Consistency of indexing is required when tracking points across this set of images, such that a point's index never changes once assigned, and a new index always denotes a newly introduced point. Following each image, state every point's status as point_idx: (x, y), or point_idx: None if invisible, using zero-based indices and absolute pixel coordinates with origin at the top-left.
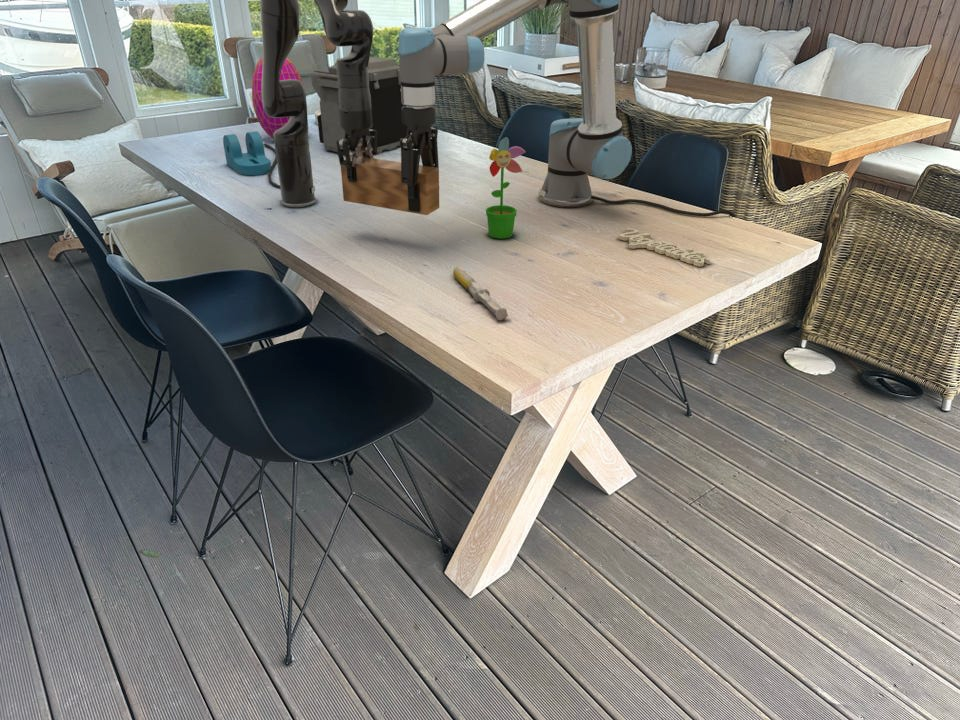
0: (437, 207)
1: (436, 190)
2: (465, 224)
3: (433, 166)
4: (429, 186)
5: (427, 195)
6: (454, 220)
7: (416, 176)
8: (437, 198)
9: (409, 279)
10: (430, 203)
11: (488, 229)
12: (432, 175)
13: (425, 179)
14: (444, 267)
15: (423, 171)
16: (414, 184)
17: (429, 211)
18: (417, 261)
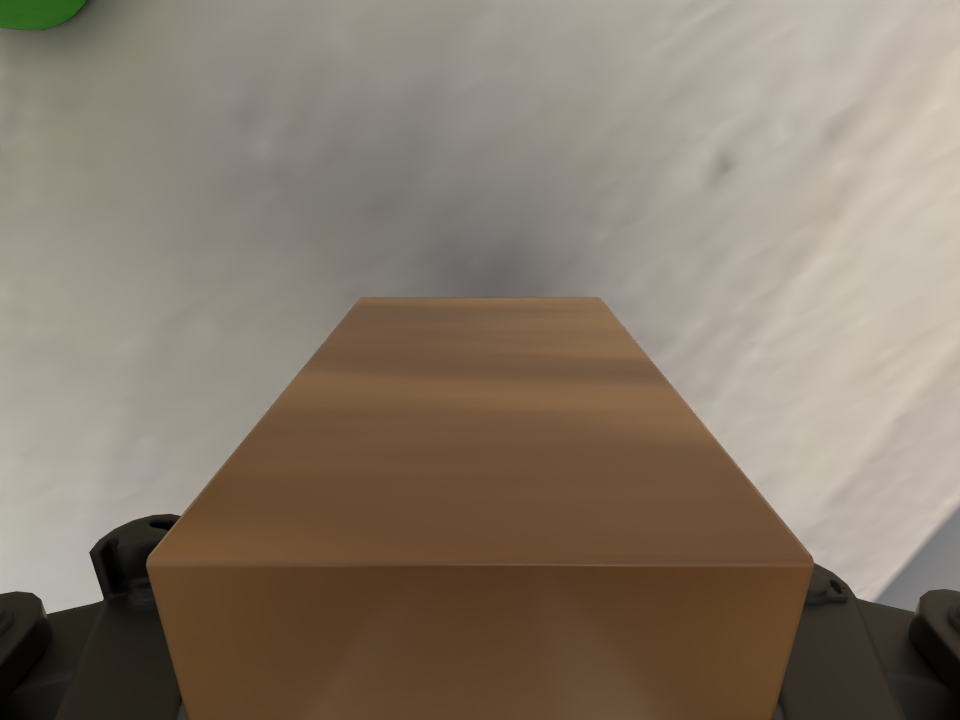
0: (396, 301)
1: (384, 361)
2: (18, 268)
3: (95, 697)
4: (590, 407)
5: (630, 362)
6: (12, 357)
7: (830, 667)
8: (379, 327)
9: (942, 146)
10: (542, 324)
11: (51, 9)
12: (486, 495)
13: (751, 498)
14: (717, 37)
15: (617, 688)
16: (819, 571)
17: (559, 302)
18: (681, 237)
